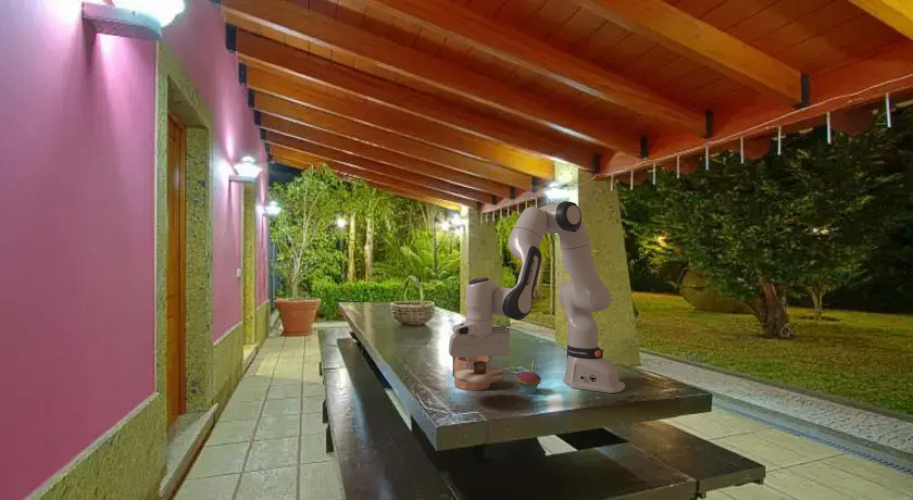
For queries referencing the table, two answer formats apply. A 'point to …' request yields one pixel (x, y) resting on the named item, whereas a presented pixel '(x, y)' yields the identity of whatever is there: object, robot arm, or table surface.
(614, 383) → the robot arm
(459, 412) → the table surface
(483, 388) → the pot
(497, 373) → the lid
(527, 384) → the cupcake
